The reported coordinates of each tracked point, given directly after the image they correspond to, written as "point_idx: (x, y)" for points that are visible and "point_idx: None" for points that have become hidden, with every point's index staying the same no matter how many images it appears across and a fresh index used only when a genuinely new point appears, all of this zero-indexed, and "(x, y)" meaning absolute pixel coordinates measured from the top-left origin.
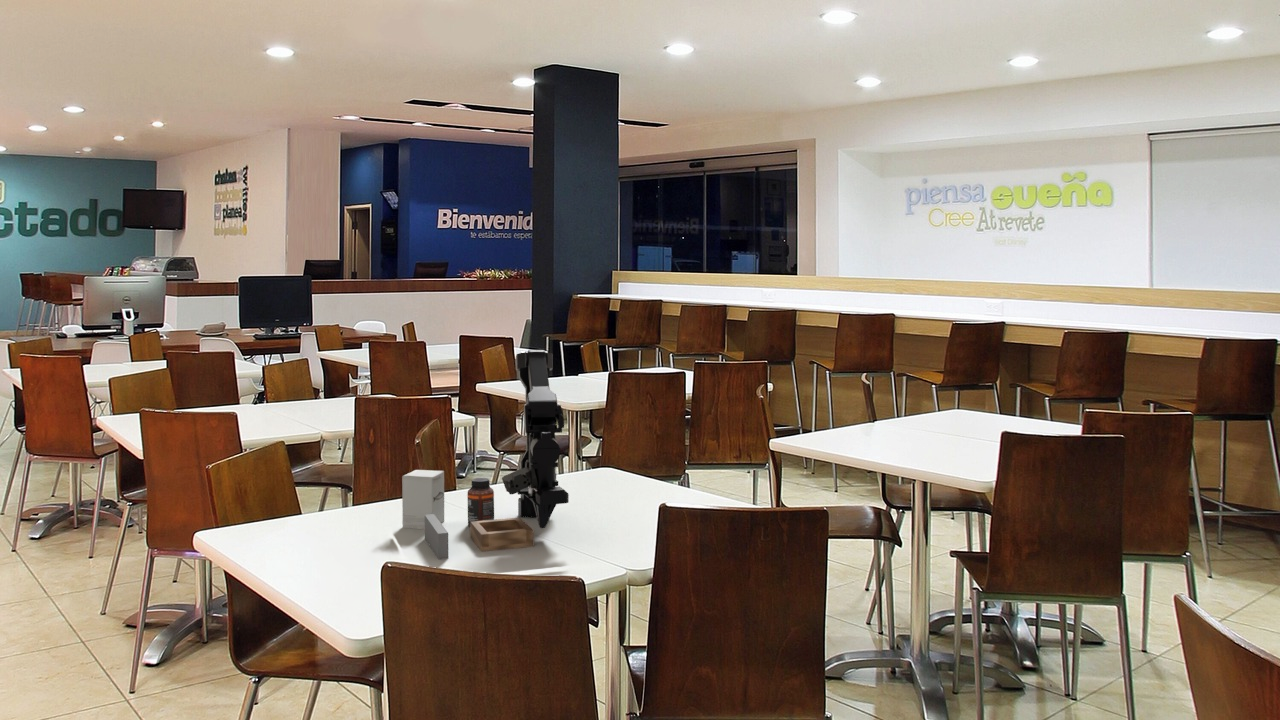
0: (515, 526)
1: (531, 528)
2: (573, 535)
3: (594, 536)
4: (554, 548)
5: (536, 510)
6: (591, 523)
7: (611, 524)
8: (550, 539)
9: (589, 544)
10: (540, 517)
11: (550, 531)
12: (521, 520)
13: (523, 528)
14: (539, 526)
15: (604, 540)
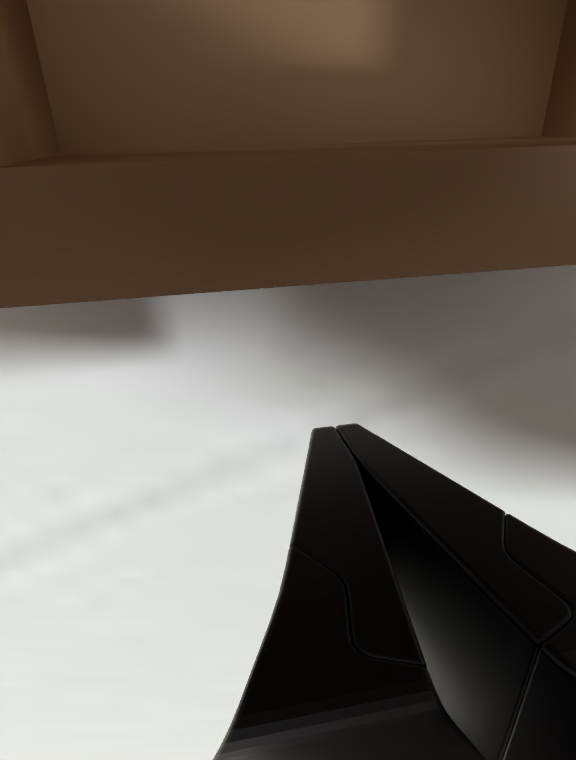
0: (562, 138)
1: (7, 301)
2: None
3: None
4: (57, 434)
5: (452, 558)
6: None
7: None
8: None
9: (132, 643)
10: (294, 527)
11: (543, 467)
12: (560, 239)
13: (80, 162)
14: (340, 428)
15: (206, 706)
